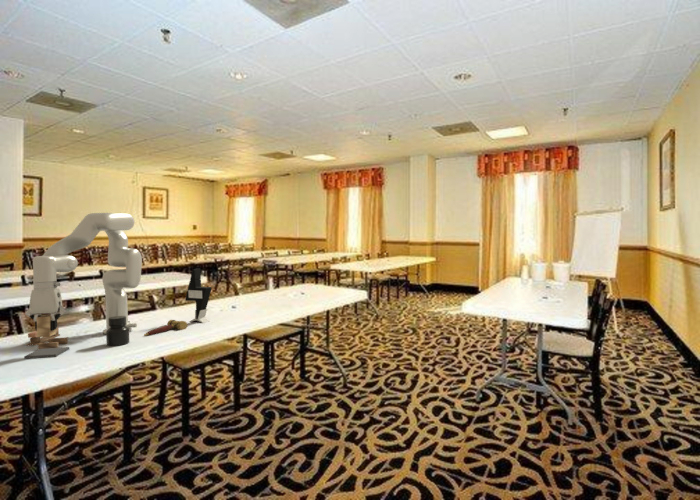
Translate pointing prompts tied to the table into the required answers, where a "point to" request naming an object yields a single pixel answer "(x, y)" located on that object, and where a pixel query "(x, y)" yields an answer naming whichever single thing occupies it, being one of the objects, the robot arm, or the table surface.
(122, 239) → the robot arm
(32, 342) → the lever base
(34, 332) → the cutter lever
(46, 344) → the cradle
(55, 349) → the mat
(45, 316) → the block
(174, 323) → the gavel
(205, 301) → the award
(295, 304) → the table surface
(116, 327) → the ink bottle
